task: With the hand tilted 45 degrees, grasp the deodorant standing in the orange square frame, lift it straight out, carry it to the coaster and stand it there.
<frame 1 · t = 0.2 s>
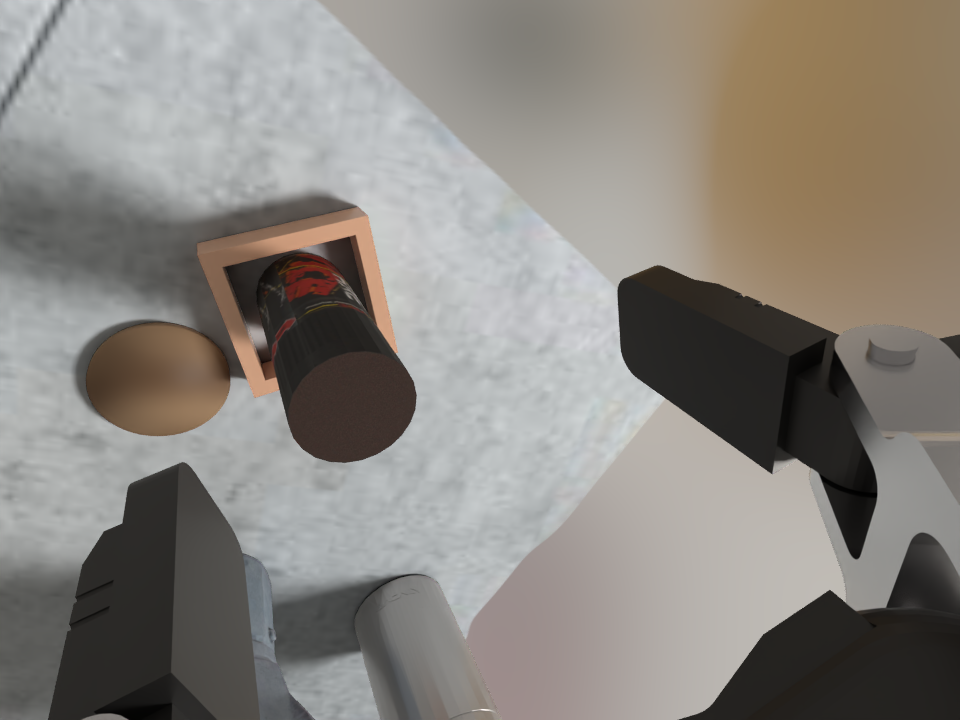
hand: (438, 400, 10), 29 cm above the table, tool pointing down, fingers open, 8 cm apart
orange square frame: (303, 296, 37), on the table
moka pot: (210, 593, 45), on the table
coaster: (162, 379, 36), on the table
deodorant: (302, 294, 37), resting in orange square frame
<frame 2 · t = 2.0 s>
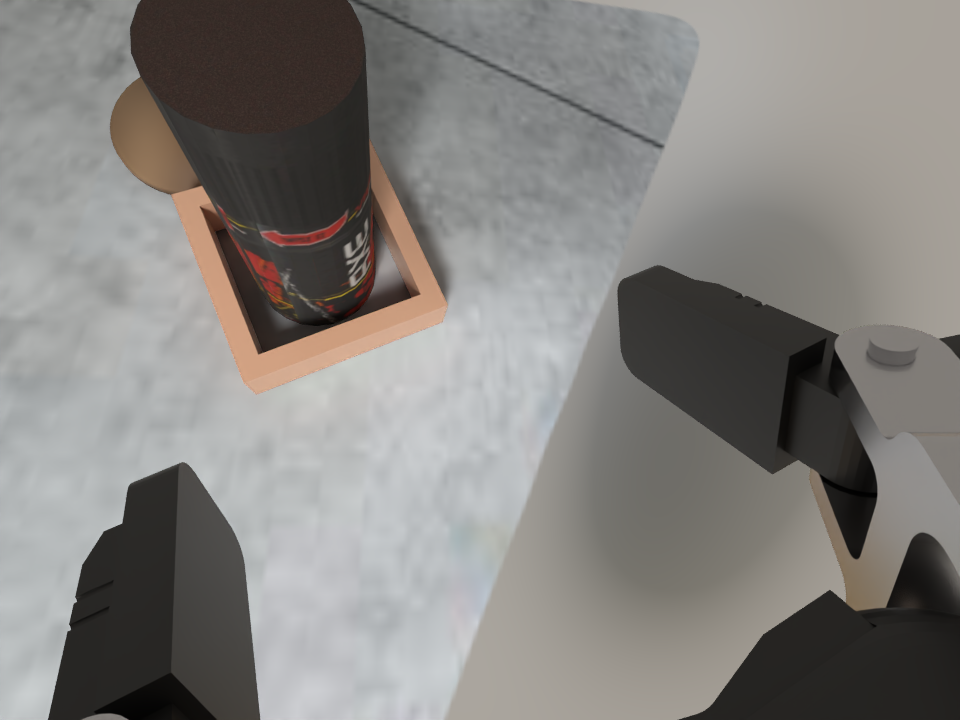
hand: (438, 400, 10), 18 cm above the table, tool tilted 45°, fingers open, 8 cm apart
orange square frame: (317, 272, 29), on the table
coaster: (196, 132, 30), on the table
deodorant: (318, 273, 29), resting in orange square frame
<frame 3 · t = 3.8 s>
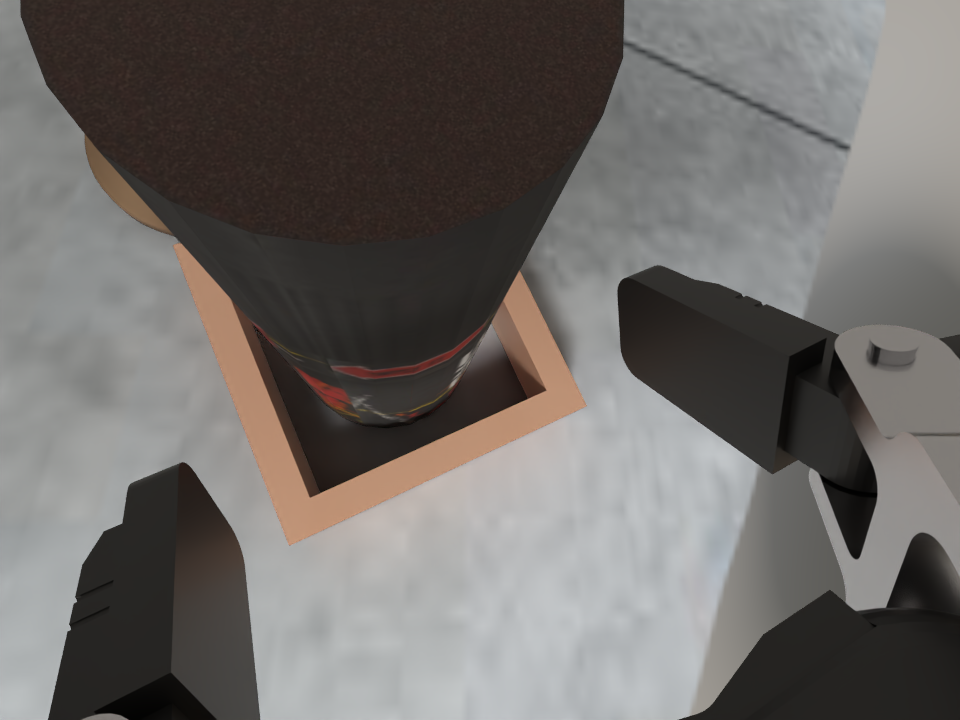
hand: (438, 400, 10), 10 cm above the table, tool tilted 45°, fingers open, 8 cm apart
orange square frame: (385, 346, 20), on the table
coaster: (208, 142, 21), on the table
deodorant: (386, 348, 20), resting in orange square frame
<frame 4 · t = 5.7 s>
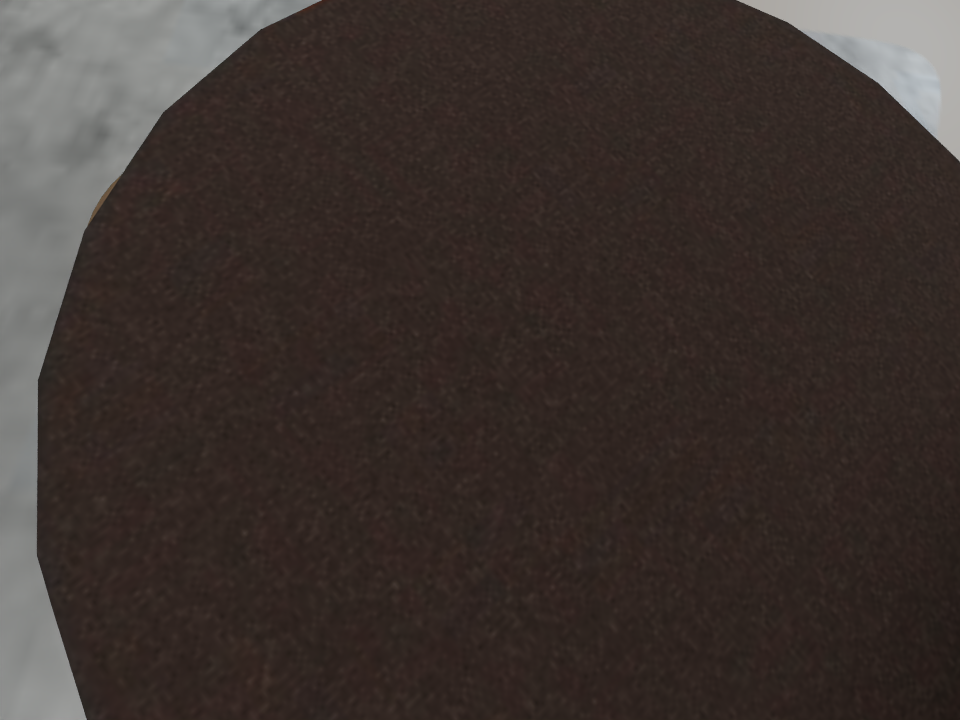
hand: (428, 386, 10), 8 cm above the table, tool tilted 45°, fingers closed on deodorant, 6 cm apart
deodorant: (432, 491, 17), resting in orange square frame, touching gripper
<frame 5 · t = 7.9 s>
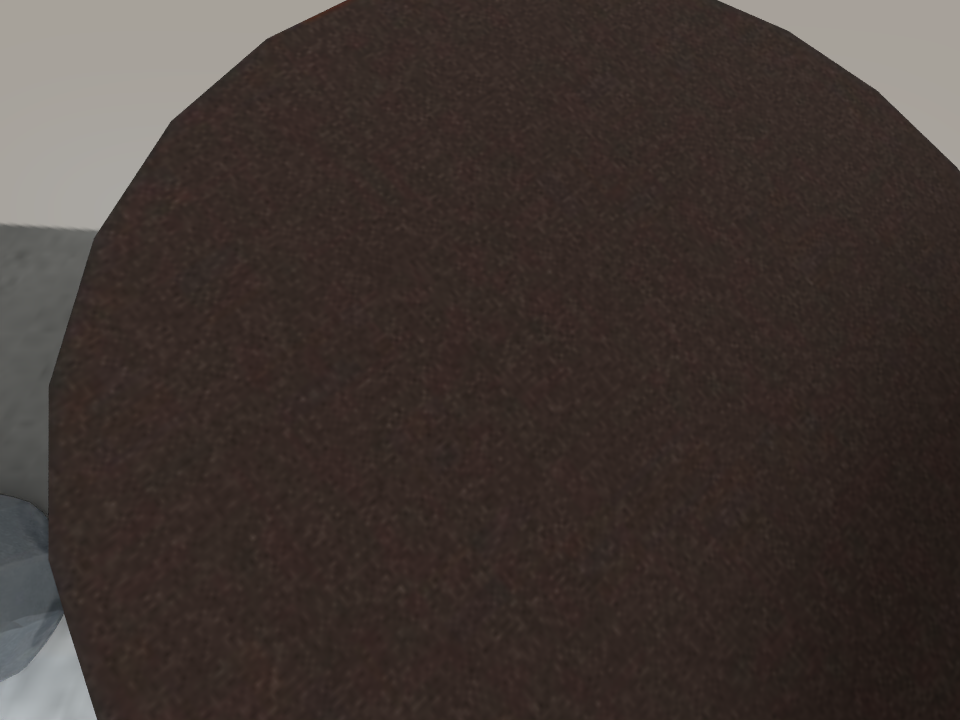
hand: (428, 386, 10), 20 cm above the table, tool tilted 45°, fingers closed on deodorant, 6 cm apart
deodorant: (432, 493, 17), point 12 cm above the table, touching gripper
when the fingers open (10 cm above the table, at t = 10.5 s): deodorant drops 1 cm, resting on coaster.
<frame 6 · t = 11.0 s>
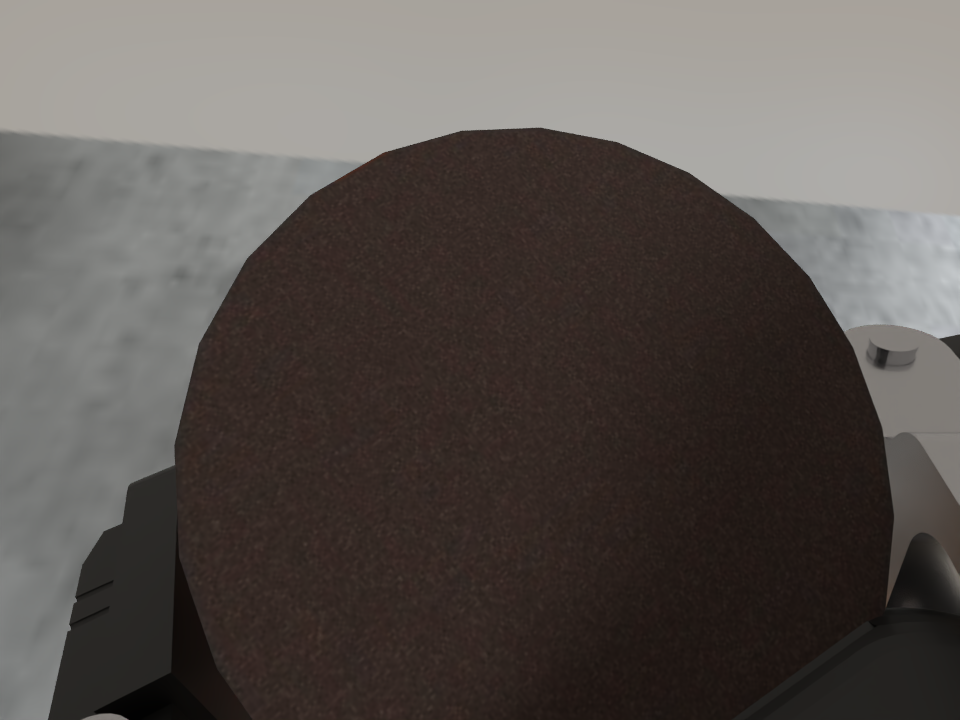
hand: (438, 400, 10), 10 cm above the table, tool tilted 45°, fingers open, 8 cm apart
deodorant: (427, 499, 19), resting on coaster
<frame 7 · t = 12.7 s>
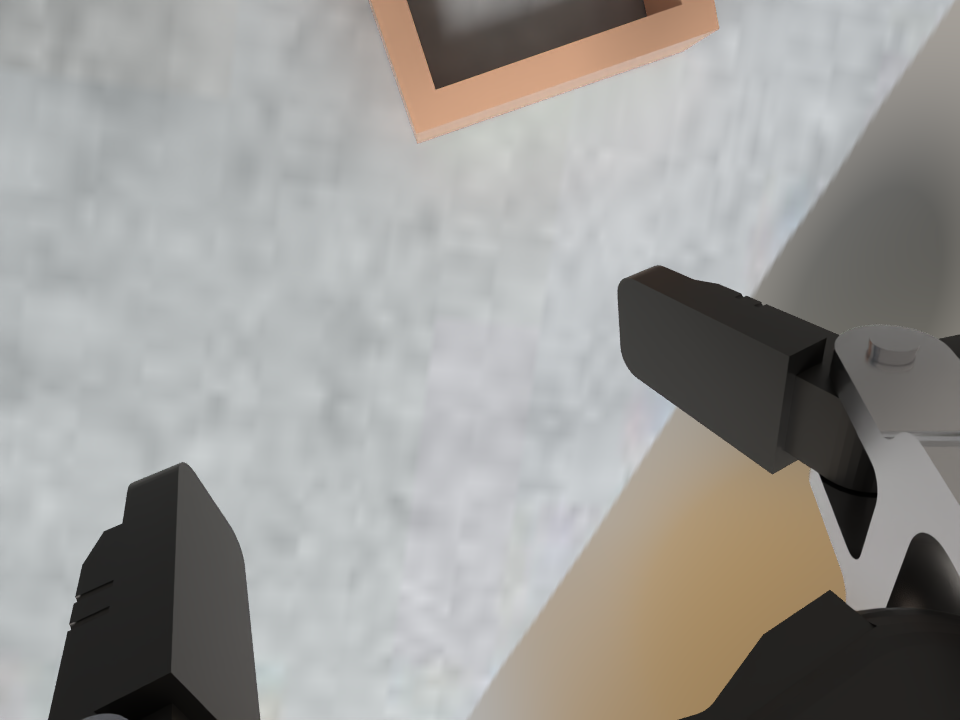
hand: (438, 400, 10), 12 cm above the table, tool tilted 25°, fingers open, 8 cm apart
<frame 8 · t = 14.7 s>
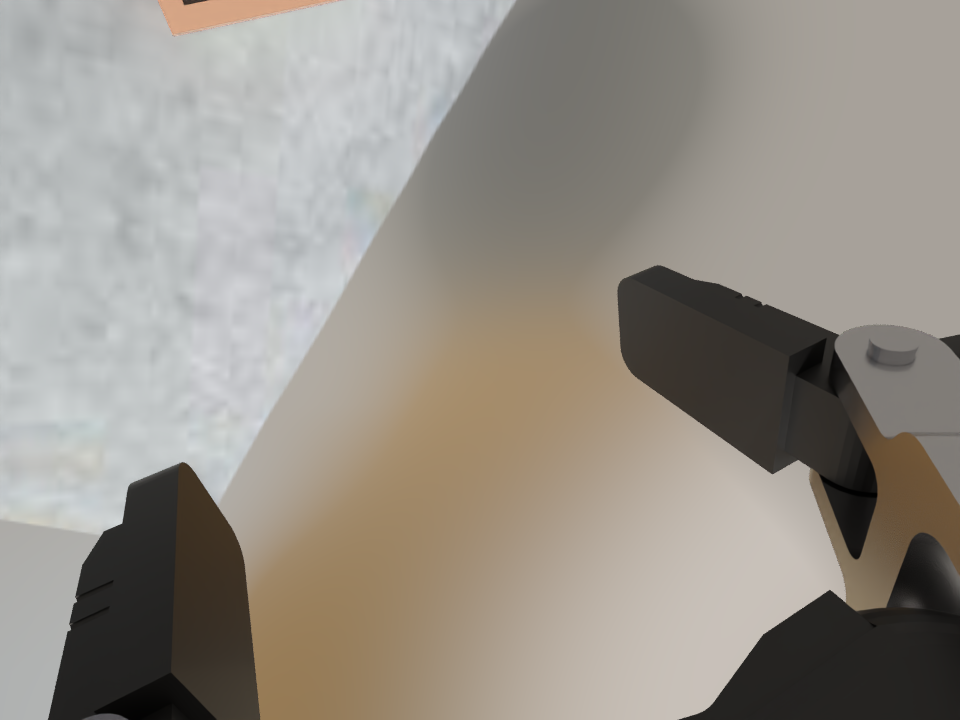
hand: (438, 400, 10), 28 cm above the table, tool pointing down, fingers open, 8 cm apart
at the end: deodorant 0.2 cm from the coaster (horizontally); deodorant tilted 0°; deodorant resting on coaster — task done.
